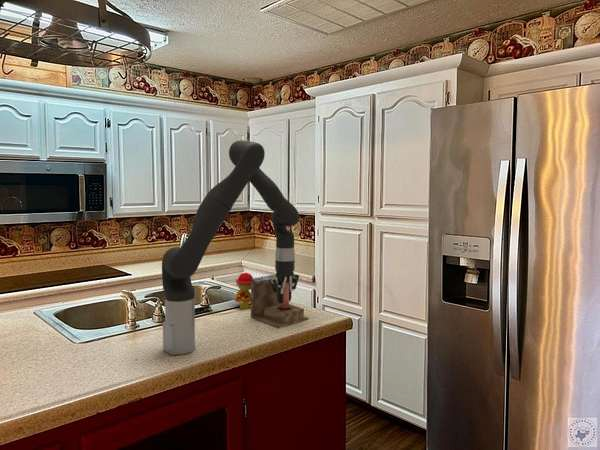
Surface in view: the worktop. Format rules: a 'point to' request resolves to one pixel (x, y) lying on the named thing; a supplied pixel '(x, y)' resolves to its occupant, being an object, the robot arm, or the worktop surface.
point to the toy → (244, 290)
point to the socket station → (271, 305)
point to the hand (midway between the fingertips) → (284, 301)
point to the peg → (285, 296)
